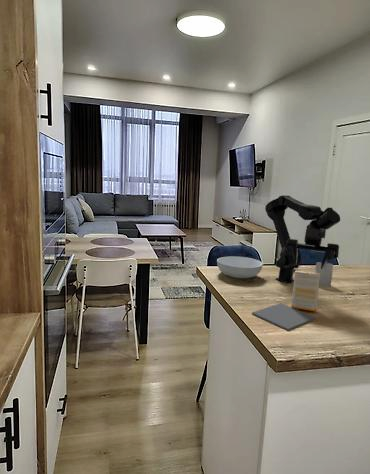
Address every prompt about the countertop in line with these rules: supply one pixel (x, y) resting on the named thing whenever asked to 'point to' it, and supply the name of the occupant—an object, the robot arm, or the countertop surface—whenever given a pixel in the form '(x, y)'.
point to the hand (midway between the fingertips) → (308, 266)
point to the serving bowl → (239, 266)
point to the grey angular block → (324, 274)
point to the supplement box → (305, 290)
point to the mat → (284, 316)
